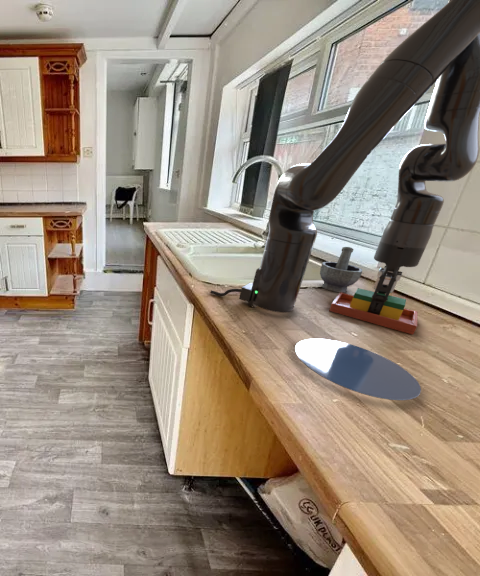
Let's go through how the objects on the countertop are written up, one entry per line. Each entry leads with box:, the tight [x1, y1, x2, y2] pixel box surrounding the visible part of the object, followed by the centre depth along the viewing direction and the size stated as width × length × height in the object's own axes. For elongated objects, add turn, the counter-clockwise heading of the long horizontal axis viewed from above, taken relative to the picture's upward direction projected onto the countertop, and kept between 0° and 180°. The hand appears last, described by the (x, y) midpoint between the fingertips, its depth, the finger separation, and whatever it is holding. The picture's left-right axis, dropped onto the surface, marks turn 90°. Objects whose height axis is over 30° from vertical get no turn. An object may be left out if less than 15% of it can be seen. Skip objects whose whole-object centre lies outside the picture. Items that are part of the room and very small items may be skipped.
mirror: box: [294, 338, 422, 401], centre depth 53 cm, size 17×17×1 cm
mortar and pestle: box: [319, 246, 363, 293], centre depth 90 cm, size 11×9×12 cm
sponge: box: [350, 287, 407, 320], centre depth 74 cm, size 9×6×4 cm, turn 44°
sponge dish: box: [328, 292, 419, 335], centre depth 74 cm, size 15×11×2 cm
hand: (374, 310), depth 74 cm, fingers closed on sponge, 5 cm apart
